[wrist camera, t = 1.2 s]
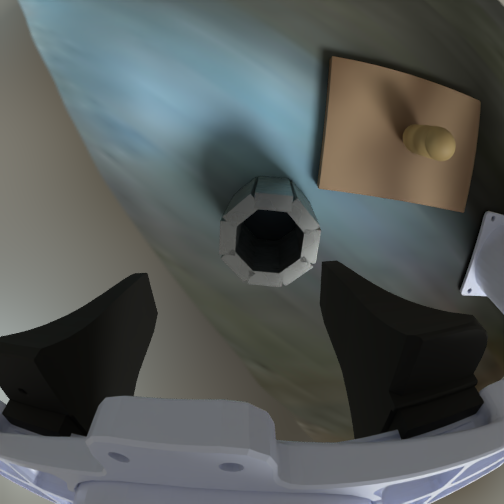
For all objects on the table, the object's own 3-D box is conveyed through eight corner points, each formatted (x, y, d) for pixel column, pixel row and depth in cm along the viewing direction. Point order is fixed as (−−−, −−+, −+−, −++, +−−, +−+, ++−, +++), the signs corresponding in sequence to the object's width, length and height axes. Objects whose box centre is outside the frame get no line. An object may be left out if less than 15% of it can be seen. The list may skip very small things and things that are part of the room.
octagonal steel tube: (313, 181, 20) (325, 199, 16) (303, 254, 22) (310, 289, 18) (233, 173, 20) (221, 189, 16) (229, 247, 23) (218, 280, 18)
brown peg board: (473, 101, 16) (523, 103, 11) (457, 208, 20) (500, 237, 14) (329, 59, 17) (351, 36, 11) (316, 185, 20) (332, 210, 15)
